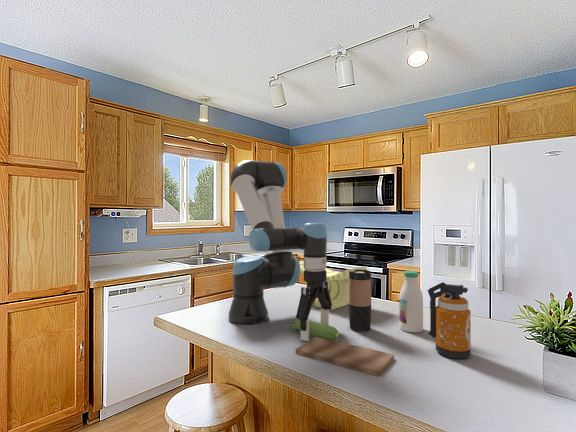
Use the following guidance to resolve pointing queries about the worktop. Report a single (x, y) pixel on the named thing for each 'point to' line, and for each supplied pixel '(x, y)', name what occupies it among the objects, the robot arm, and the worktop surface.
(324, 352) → the serving board
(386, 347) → the worktop surface
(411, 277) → the milk bottle
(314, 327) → the edible corn
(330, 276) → the slatted curved stool
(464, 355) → the canister
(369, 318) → the travel mug
